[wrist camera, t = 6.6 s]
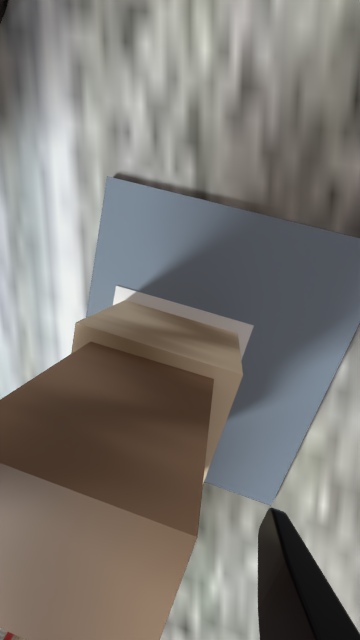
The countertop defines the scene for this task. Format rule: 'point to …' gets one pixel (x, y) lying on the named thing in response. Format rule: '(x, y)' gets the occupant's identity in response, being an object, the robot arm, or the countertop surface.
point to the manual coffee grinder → (2, 8)
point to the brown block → (99, 495)
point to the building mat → (239, 310)
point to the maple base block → (172, 351)
